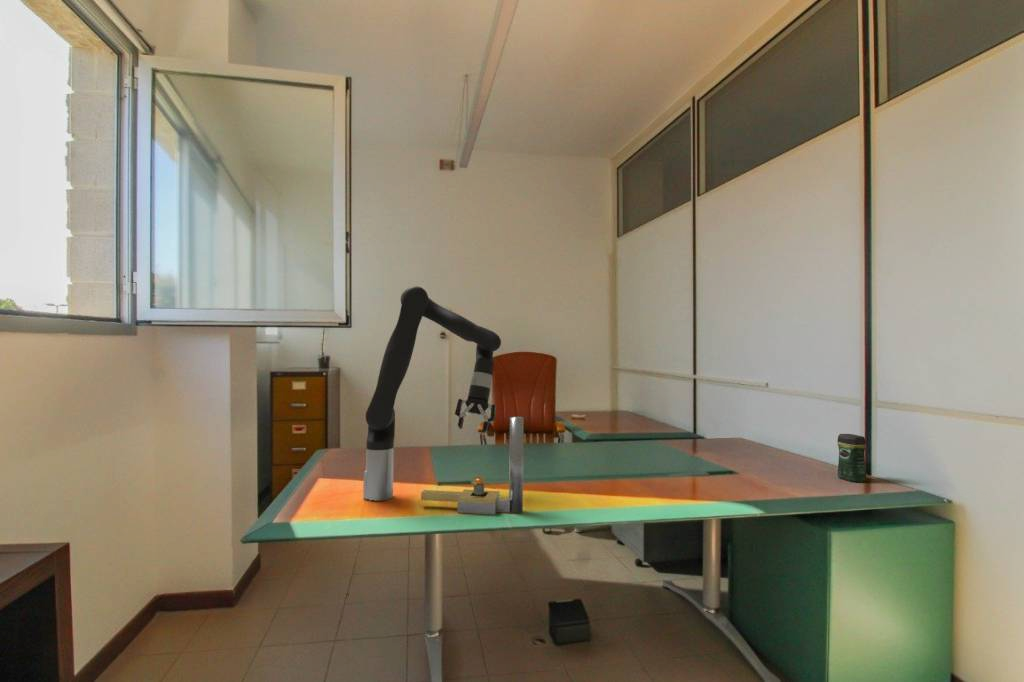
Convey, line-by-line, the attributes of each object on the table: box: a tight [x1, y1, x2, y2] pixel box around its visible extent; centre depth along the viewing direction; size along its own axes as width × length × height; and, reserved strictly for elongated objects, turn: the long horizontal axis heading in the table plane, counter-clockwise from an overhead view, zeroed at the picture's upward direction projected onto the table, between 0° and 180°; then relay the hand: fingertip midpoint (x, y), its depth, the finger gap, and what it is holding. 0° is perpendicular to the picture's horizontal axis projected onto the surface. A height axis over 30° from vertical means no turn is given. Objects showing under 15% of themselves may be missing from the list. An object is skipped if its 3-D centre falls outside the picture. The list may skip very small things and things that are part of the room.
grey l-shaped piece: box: [420, 416, 524, 516], centre depth 164 cm, size 33×9×30 cm, turn 82°
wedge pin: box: [473, 476, 486, 497], centre depth 164 cm, size 4×4×10 cm
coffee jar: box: [837, 433, 868, 483], centre depth 207 cm, size 10×8×19 cm
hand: (471, 430), depth 180 cm, fingers open, 8 cm apart
